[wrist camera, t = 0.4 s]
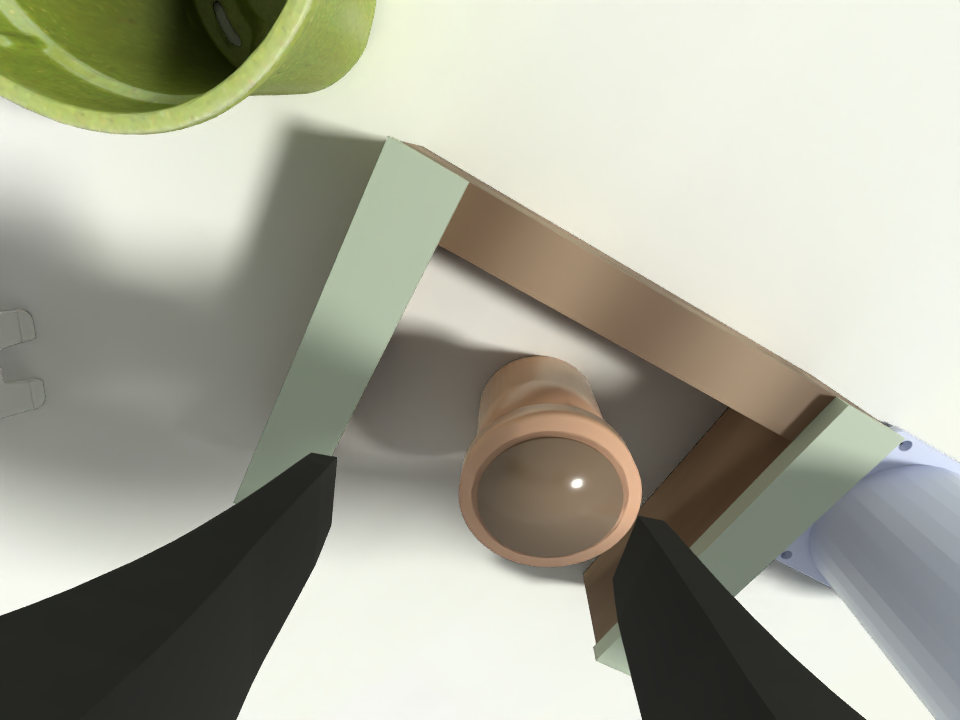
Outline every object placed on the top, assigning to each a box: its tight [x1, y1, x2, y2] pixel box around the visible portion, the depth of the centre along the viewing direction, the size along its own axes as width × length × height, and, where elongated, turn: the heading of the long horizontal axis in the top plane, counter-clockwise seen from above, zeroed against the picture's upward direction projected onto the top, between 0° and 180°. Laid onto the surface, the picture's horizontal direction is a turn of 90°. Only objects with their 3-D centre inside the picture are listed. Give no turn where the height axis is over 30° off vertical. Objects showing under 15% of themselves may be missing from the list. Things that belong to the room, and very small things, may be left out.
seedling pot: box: [459, 356, 642, 567], centre depth 18 cm, size 6×6×6 cm
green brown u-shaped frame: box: [234, 136, 905, 676], centre depth 18 cm, size 18×14×5 cm
